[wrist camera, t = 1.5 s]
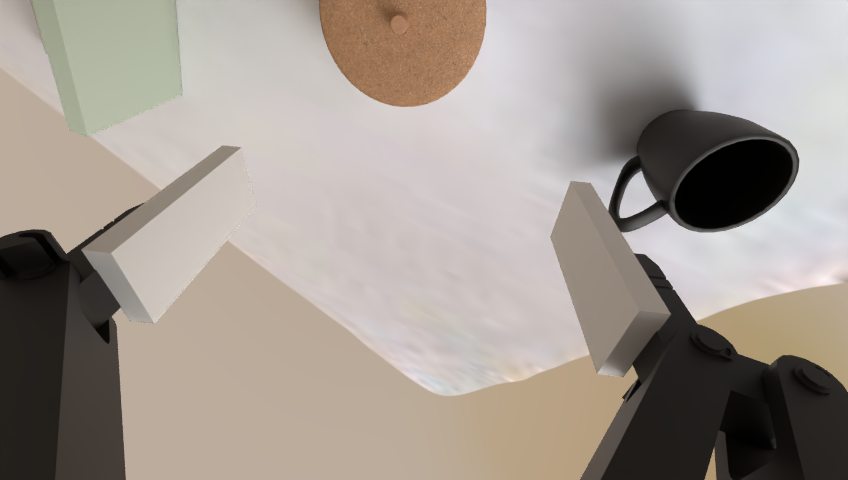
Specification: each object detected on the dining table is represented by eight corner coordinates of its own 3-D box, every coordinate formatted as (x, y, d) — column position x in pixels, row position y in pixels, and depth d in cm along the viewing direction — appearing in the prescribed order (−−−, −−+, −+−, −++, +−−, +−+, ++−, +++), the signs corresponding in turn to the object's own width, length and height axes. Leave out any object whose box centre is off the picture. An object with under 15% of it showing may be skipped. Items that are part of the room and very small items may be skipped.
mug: (570, 147, 34) (603, 196, 27) (710, 74, 30) (797, 109, 22) (598, 208, 38) (633, 265, 31) (725, 152, 34) (804, 203, 26)
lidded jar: (325, -45, 27) (275, -52, 19) (462, -104, 24) (465, -138, 17) (376, 96, 33) (353, 132, 25) (491, 60, 30) (502, 89, 23)
